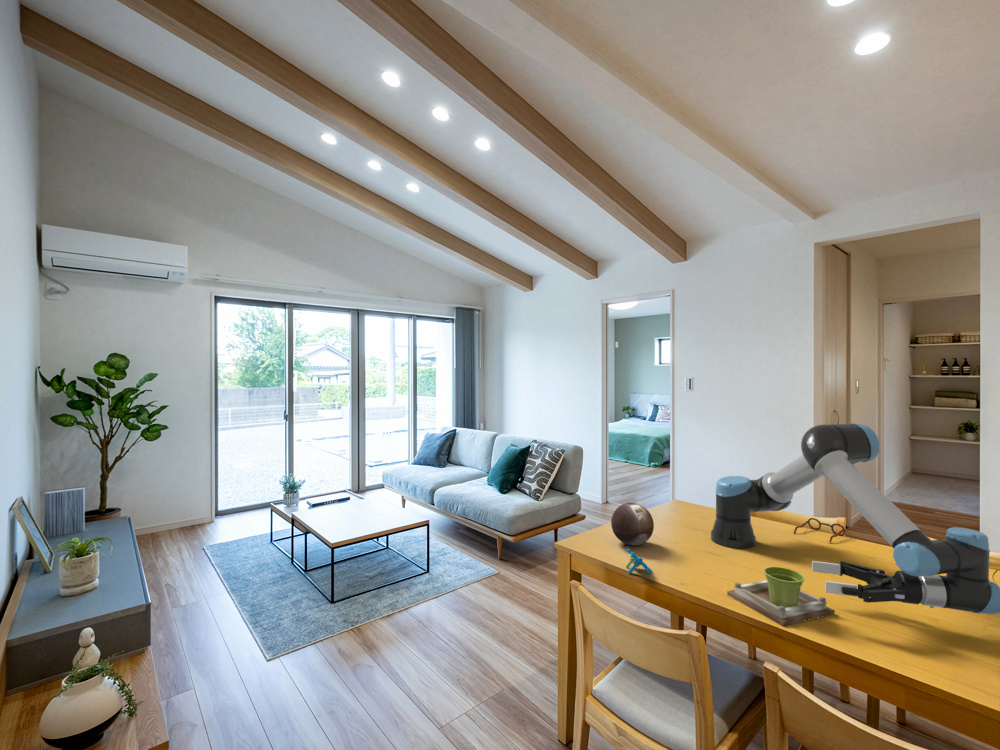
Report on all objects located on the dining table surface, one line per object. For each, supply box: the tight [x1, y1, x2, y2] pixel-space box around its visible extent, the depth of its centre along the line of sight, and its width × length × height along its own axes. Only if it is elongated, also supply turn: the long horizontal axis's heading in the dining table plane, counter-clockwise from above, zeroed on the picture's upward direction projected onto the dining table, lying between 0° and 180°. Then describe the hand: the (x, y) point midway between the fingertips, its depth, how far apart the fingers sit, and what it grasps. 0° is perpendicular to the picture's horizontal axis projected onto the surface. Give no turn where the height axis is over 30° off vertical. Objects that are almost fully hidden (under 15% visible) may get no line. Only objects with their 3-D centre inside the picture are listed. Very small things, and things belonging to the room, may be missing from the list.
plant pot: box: [763, 566, 806, 608], centre depth 130 cm, size 9×9×9 cm
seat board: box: [726, 579, 836, 627], centre depth 133 cm, size 18×18×4 cm
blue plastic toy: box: [625, 548, 654, 575], centre depth 154 cm, size 11×6×10 cm
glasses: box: [793, 517, 846, 543], centre depth 188 cm, size 13×13×5 cm
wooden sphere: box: [610, 502, 655, 547], centre depth 178 cm, size 15×15×15 cm
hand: (818, 575), depth 130 cm, fingers open, 13 cm apart
